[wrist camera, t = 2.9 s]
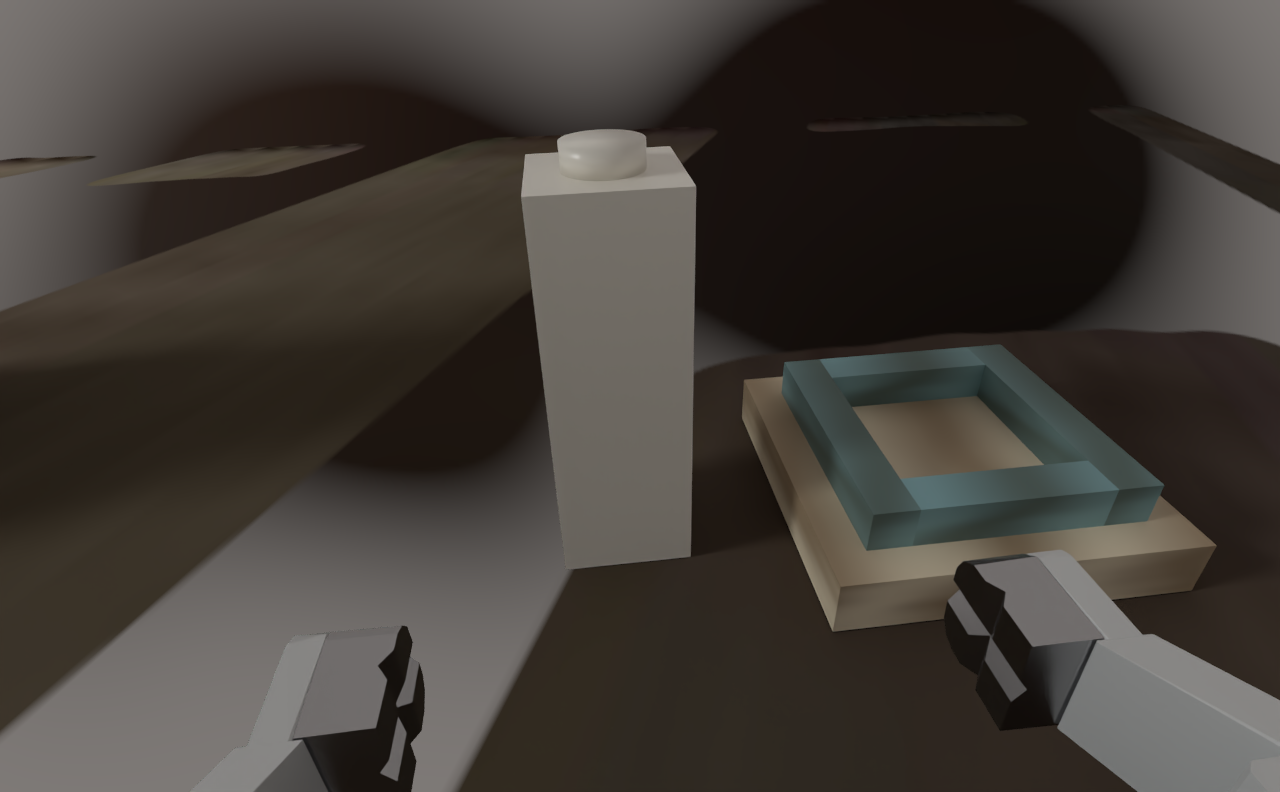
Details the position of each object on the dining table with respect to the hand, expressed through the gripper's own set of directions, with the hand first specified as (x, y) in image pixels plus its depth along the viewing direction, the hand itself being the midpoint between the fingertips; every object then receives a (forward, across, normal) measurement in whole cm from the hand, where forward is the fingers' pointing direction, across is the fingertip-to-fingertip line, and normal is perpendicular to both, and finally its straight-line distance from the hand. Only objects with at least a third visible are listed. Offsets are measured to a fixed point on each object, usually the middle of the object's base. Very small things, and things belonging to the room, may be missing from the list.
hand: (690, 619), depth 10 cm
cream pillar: (+13, 0, +10) cm, 16 cm away
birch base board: (+13, -12, +10) cm, 20 cm away
